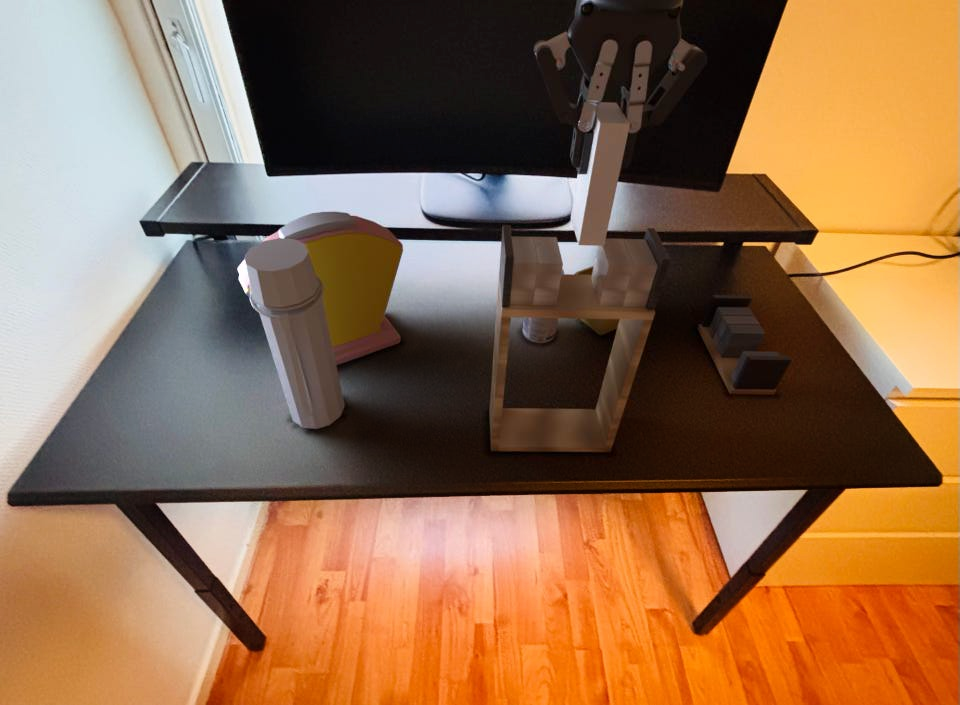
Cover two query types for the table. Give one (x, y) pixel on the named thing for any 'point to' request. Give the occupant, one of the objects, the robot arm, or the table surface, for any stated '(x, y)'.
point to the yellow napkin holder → (348, 277)
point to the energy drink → (540, 328)
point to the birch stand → (566, 425)
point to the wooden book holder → (581, 279)
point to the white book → (600, 176)
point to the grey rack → (740, 347)
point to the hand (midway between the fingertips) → (597, 170)
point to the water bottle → (296, 329)
